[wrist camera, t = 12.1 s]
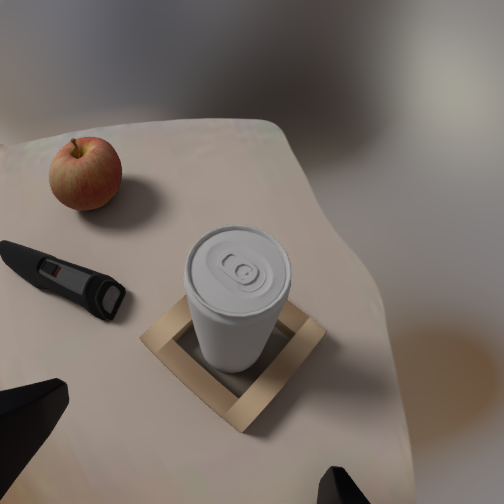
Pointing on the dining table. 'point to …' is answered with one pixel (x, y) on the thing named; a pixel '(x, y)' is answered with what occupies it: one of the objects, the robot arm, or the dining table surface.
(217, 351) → the beverage can
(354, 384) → the dining table surface
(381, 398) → the dining table surface
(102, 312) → the electric trimmer
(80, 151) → the apple
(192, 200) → the dining table surface
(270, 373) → the socket block
